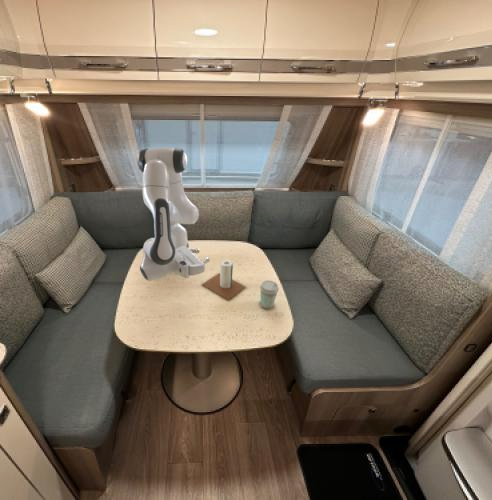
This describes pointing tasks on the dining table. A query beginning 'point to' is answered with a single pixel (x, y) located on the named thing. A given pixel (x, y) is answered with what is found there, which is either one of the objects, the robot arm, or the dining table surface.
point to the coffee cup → (268, 293)
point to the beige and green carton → (226, 273)
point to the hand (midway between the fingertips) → (203, 254)
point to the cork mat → (224, 292)
